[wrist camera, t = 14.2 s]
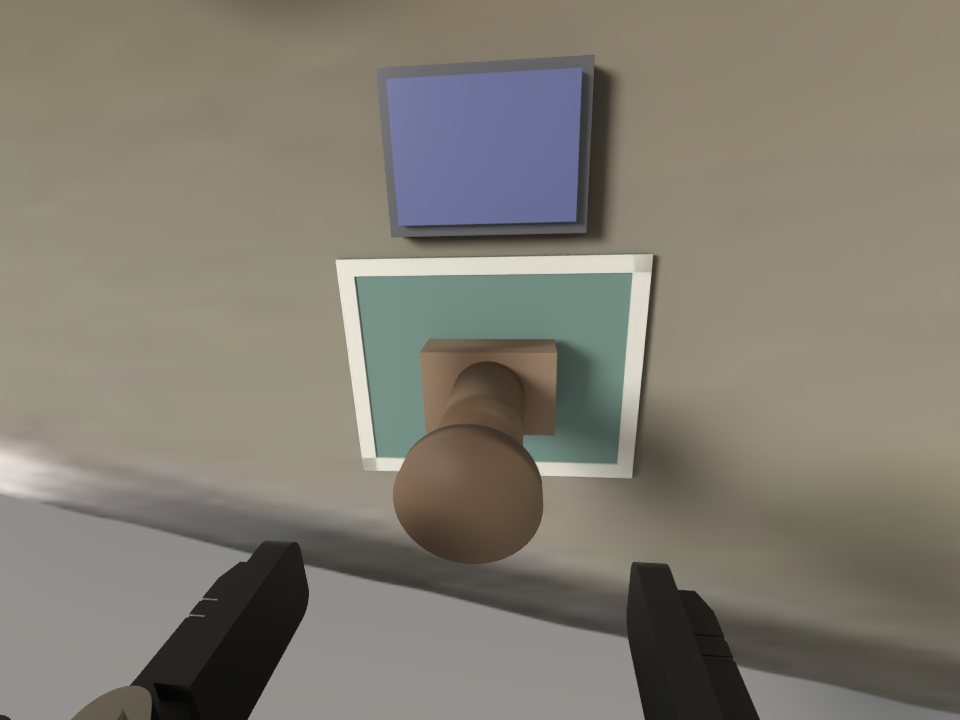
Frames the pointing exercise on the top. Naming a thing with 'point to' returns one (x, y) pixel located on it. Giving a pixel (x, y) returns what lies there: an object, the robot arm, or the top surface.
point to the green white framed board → (502, 315)
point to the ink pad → (487, 146)
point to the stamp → (478, 448)
